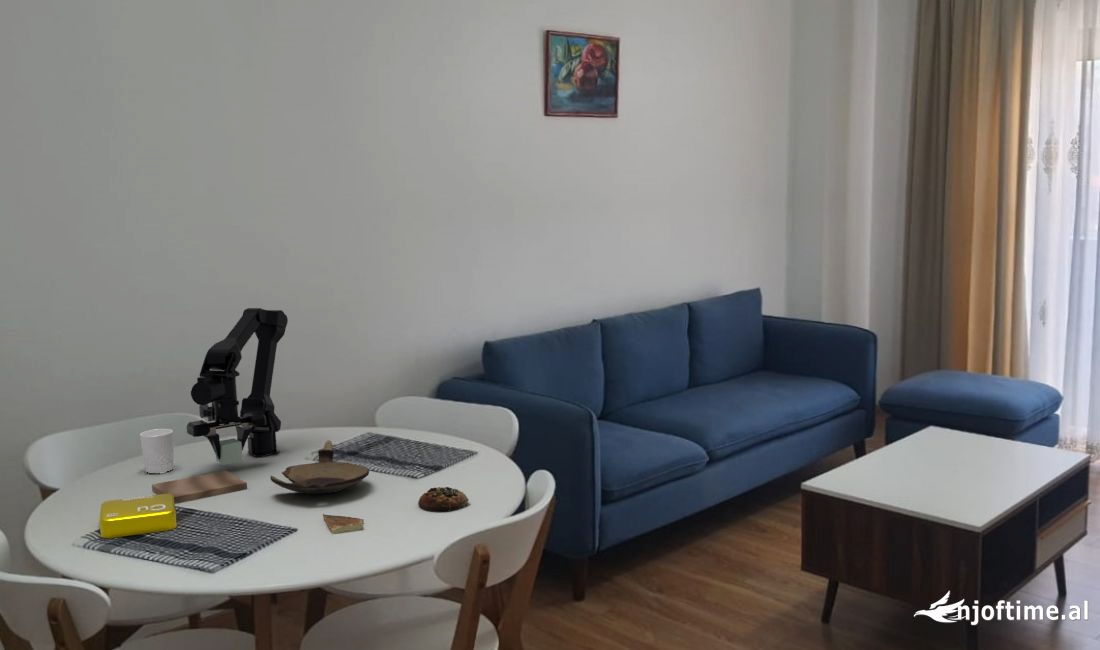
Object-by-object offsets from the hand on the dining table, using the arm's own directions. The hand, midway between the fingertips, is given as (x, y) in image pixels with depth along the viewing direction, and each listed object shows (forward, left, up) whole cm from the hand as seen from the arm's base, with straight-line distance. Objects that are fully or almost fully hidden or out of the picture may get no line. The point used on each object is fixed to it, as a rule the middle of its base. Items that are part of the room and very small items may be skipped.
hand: (229, 456), depth 269 cm
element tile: (+31, +28, -4) cm, 42 cm away
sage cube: (0, 0, -1) cm, 1 cm away
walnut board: (+12, +12, -3) cm, 17 cm away
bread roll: (-26, +61, -4) cm, 66 cm away
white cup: (+14, -12, -4) cm, 19 cm away
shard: (-1, +59, -4) cm, 59 cm away
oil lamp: (-12, +31, -4) cm, 33 cm away
